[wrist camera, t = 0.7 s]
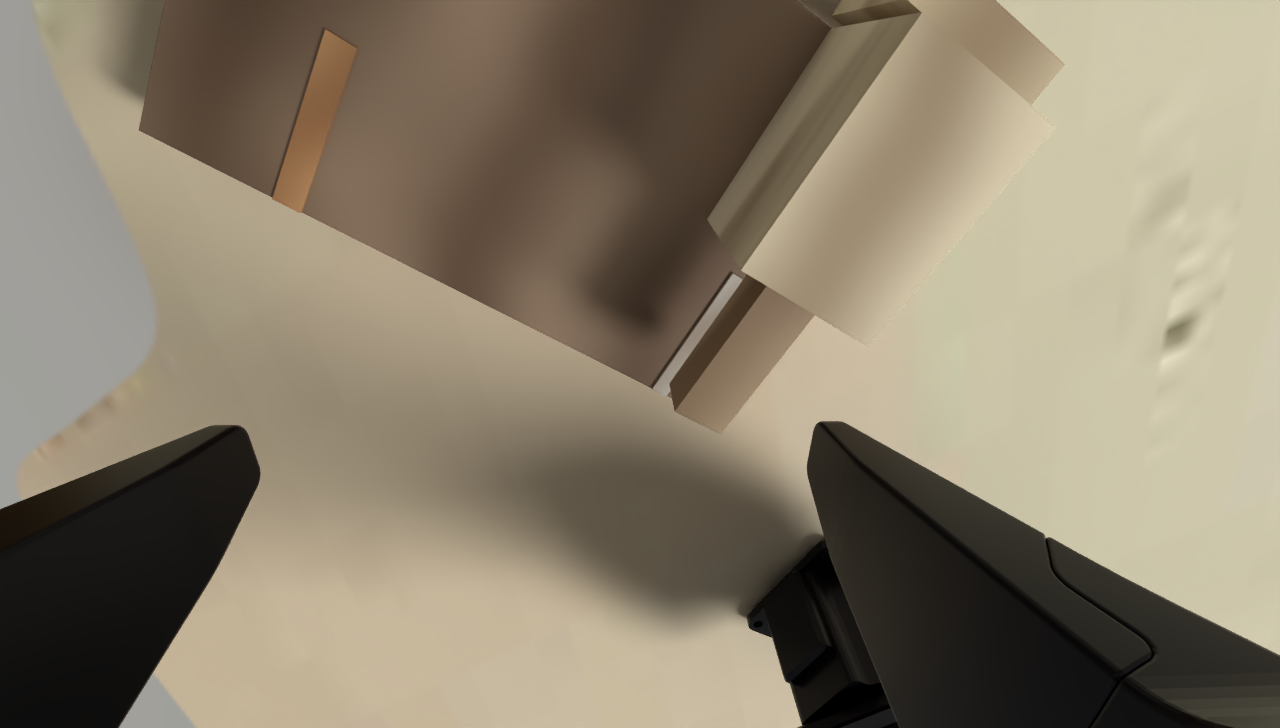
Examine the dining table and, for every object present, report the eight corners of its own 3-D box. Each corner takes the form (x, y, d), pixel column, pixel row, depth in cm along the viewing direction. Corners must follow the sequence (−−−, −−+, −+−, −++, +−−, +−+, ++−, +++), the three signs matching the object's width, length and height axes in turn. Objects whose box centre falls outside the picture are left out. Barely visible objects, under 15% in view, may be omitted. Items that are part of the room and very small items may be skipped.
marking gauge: (956, 64, 17) (1111, 63, 11) (724, 374, 21) (761, 471, 16) (855, -21, 15) (976, -65, 10) (631, 325, 20) (640, 413, 15)
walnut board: (925, 124, 18) (961, 130, 17) (716, 398, 23) (726, 427, 21) (301, -365, 13) (250, -439, 11) (186, 123, 17) (135, 130, 15)
